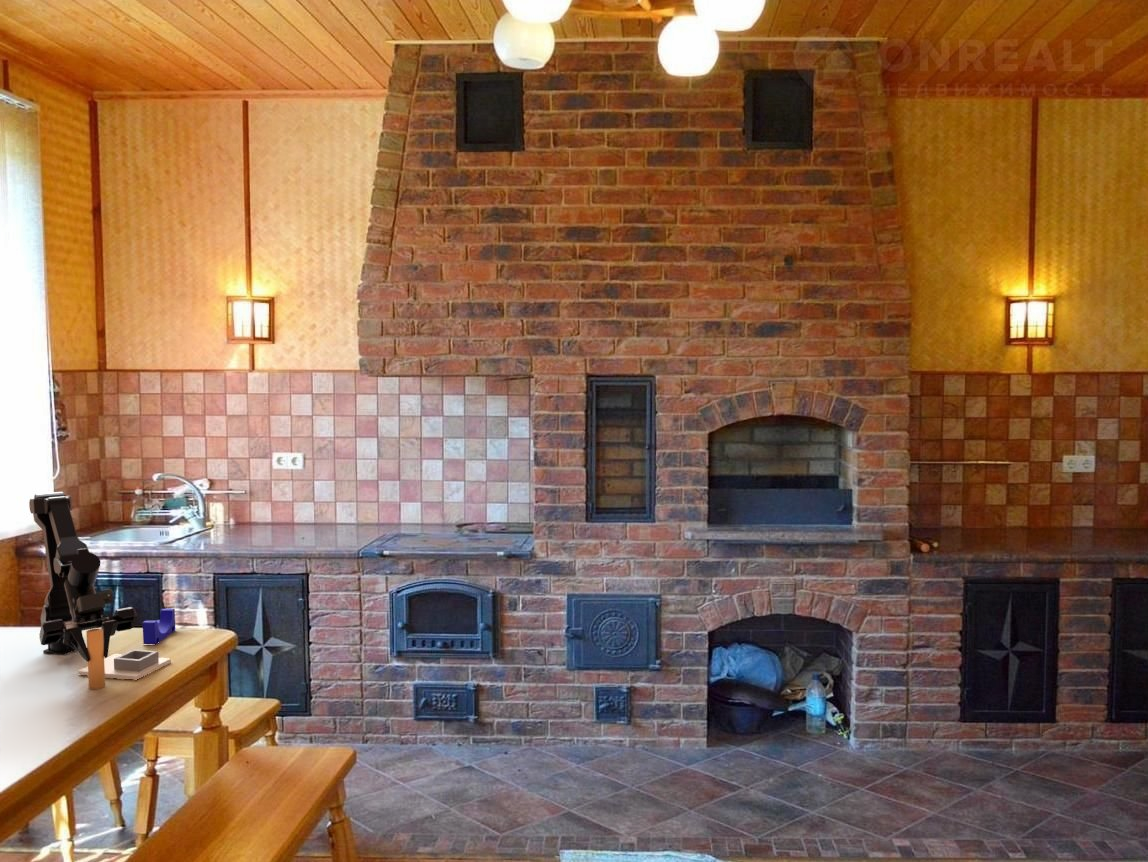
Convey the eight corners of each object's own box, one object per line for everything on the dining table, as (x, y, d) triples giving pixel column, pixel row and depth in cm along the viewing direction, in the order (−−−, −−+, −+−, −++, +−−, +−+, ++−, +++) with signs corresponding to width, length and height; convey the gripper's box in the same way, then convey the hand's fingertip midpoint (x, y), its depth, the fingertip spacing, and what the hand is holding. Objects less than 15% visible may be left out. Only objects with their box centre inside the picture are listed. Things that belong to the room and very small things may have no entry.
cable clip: (158, 631, 242) (157, 608, 242) (175, 631, 243) (174, 608, 242) (137, 646, 231) (136, 622, 230) (155, 645, 231) (154, 622, 230)
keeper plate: (78, 675, 210) (77, 660, 209) (115, 657, 221) (114, 643, 221) (136, 680, 206) (135, 665, 206) (170, 662, 218) (170, 648, 218)
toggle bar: (85, 688, 202) (82, 632, 200) (95, 683, 205) (93, 628, 204) (98, 689, 201) (95, 633, 200) (108, 684, 204) (106, 629, 203)
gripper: (39, 585, 198) (54, 649, 190) (133, 571, 210) (149, 631, 202) (33, 613, 204) (47, 675, 197) (124, 598, 216) (140, 656, 209)
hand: (97, 658), depth 201 cm, fingers closed on toggle bar, 3 cm apart
